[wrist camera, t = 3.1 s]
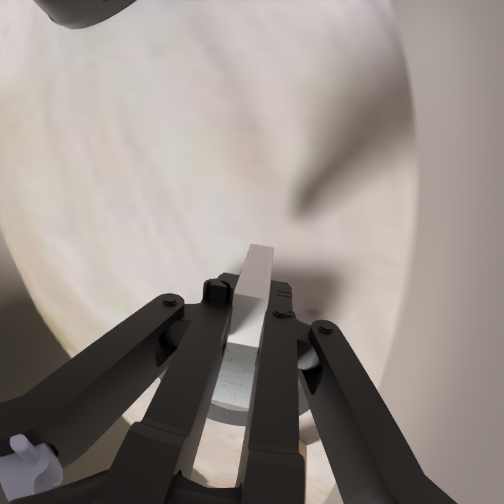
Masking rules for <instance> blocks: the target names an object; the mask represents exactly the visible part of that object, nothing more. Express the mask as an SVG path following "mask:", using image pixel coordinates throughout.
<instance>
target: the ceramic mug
mask: <svg viewBox="0 0 504 504" xmlns="http://www.w3.org/2000/svg"><path fill="white" fill-rule="evenodd" d="M257 352H258V347H253V346H247V345H242V344H236V343H231V342H228V339H227V346H226V351H225V354H224V358H223V361H222V365H221V369H220V372H219V376H218V379H217V383H216V386H215V390H214V393H213V397H212V400H216V401H220V402H224V403H228V404H232V405H236V406H240V407H244V408H249V403H250V397H251V390H252V384H253V377H254V371H255V366H254V365H255V361H256V356H257Z"/></svg>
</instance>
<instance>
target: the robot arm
mask: <svg viewBox="0 0 504 504" xmlns="http://www.w3.org/2000/svg"><path fill="white" fill-rule="evenodd" d="M33 1H34V2H35V3H36V4H37V5H38V6H39V7H40V8H41V9H42V10H43V11H44V12H45V13H46V14H47V15H48V16H49V18H50V19H51V20H52V21H53V22H55V23H56V24H59V25H62V26H64V27H67V28H70V29H81V28H86V27H89V26H92V25H95V24H97V23H99V22H102V21H104V20H106V19H108V18H109V17H111V16H113V15H114V14H116V13H118V12H119V11H121V10H122V9H124V8H125V7H127V6H128V5H130V4H131V3H132V2H134V1H135V0H33ZM273 250H274V248H272V247H266V246H260V245H255V244H250V247H249V250H248V253H247V256H246V259H245V262H244V265H243V268H242V271H241V274H240V275H235V274H229V273H223V274H221V275H219V276H218V278H217V279H209V280H206V281H205V282H204V287H203V299H202V301H201V303H198V304H184V299H183V298H182V297H181V296H179V295H176V294H172V293H171V294H170V293H167V294H162V295H160V296H158V297H156V298H155V299H153V300H152V301H151V302H149V303H148V304H146V305H145V306H144V307H142V308H141V309H139V310H138V311H136V312H135V313H134V314H132V315H131V316H130V317H128V318H127V319H125V320H124V321H123V322H121V323H120V324H118V325H117V326H116V327H114V328H113V329H111V330H110V331H109V332H107V333H106V334H105V335H103V336H102V337H100V338H99V339H98V340H96V341H95V342H94V343H92V344H91V345H90V346H88V347H87V348H85V349H84V350H83V351H81V352H80V353H79V354H77V355H76V356H75V357H73V358H72V359H71V360H69V361H68V362H67V363H65V364H64V365H63V366H61V367H60V368H59V369H57V370H56V371H55V372H53V373H52V374H51V375H49V376H48V377H47V378H45V379H44V380H43V381H42V382H40V383H39V384H37V385H36V386H35V387H33V388H32V389H31V390H29V391H28V392H27V393H26V394H25V395H23V396H20V397H17V398H14V399H11V400H8V401H5V402H2V403H0V482H1V484H2V487H3V490H4V492H5V494H6V496H7V499H8V500H9V502H8V503H7V504H305V459H304V457H303V455H301V454H300V453H299V392H298V376H299V379H300V382H301V385H302V388H303V390H304V393H305V396H306V399H307V402H308V404H309V407H310V410H311V413H312V416H313V418H314V421H315V424H316V427H317V430H318V432H319V435H320V438H321V441H322V444H323V446H324V449H325V452H326V455H327V458H328V460H329V463H330V466H331V469H332V472H333V475H334V477H335V480H336V483H337V486H338V488H339V491H340V494H341V497H342V500H343V503H344V504H457V503H456V502H455V501H454V500H453V499H452V498H450V497H449V496H448V495H447V494H446V493H444V492H443V491H442V490H441V489H440V488H439V487H438V486H437V485H435V484H434V483H433V482H432V481H431V480H430V479H429V478H428V477H427V476H425V474H424V473H423V471H422V469H421V467H420V465H419V463H418V462H417V460H416V458H415V456H414V454H413V452H412V450H411V449H410V447H409V445H408V443H407V441H406V440H405V438H404V436H403V434H402V432H401V431H400V429H399V427H398V425H397V424H396V422H395V420H394V418H393V417H392V415H391V413H390V411H389V410H388V408H387V406H386V404H385V403H384V401H383V399H382V398H381V396H380V394H379V393H378V391H377V389H376V387H375V386H374V384H373V382H372V381H371V379H370V377H369V376H368V374H367V372H366V371H365V369H364V367H363V366H362V364H361V363H360V361H359V359H358V358H357V356H356V354H355V353H354V351H353V350H352V348H351V346H350V345H349V343H348V341H347V340H346V338H345V337H344V335H343V333H342V332H341V330H340V329H339V327H338V326H337V325H335V324H334V323H332V322H330V321H327V320H316V321H314V322H313V323H312V325H311V326H310V325H307V324H304V323H302V322H300V321H299V320H297V319H296V315H295V313H294V312H293V311H292V294H291V293H292V292H291V287H290V286H289V284H288V283H284V282H278V281H273V280H271V272H272V261H273ZM227 339H228V342H231V343H236V344H242V345H247V346H253V347H258V352H257V356H256V361H255V365H254V366H255V371H254V377H253V384H252V390H251V397H250V403H249V410H248V416H247V422H246V428H245V435H244V441H243V447H242V453H241V458H240V464H239V470H238V476H237V481H236V485H235V488H207V487H204V486H202V485H200V484H198V483H195V482H193V481H191V480H190V478H191V472H192V467H193V464H194V460H195V456H196V453H197V449H198V446H199V442H200V439H201V435H202V432H203V428H204V425H205V421H206V418H207V414H208V411H209V407H210V404H211V400H212V397H213V393H214V390H215V386H216V383H217V379H218V376H219V372H220V369H221V365H222V361H223V358H224V354H225V351H226V346H227ZM167 367H168V368H167ZM166 368H167V370H166V372H165V374H164V376H163V378H162V380H161V382H160V384H159V386H158V388H157V390H156V392H155V395H154V397H153V399H152V401H151V403H150V405H149V407H148V409H147V411H146V413H145V415H144V417H143V419H142V420H141V421H140V422H135V423H133V424H132V425H131V427H130V429H129V430H128V432H127V434H126V436H125V439H124V440H123V443H122V445H121V447H120V449H119V451H118V453H117V455H116V457H115V459H114V461H113V463H112V465H111V467H110V469H108V470H105V471H102V472H99V473H97V474H94V475H92V476H90V477H87V478H84V479H81V480H79V481H76V482H73V483H70V484H68V485H64V486H61V487H58V488H55V489H52V490H51V488H52V487H53V486H54V485H59V484H61V482H62V479H63V478H62V468H64V467H66V466H68V465H70V464H71V463H73V462H74V461H76V460H77V459H78V458H79V457H81V456H82V455H83V454H84V453H85V452H86V451H87V450H88V449H89V448H90V447H91V446H92V445H93V444H94V443H95V442H96V441H97V440H98V439H99V438H100V437H101V436H102V435H103V434H104V433H105V432H106V431H107V430H108V429H109V428H110V426H111V425H113V424H114V422H116V420H117V419H118V418H119V417H120V416H121V415H122V414H123V413H124V412H125V411H126V410H127V409H128V408H129V407H130V406H131V405H132V404H133V403H134V402H135V401H136V400H137V399H138V398H139V397H140V396H141V394H142V393H143V392H144V391H145V390H146V389H147V388H148V387H149V386H150V385H151V384H152V383H153V382H154V381H155V380H156V379H157V378H158V377H159V376H160V374H161V373H162V372H163V371H164V370H165V369H166Z"/></svg>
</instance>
